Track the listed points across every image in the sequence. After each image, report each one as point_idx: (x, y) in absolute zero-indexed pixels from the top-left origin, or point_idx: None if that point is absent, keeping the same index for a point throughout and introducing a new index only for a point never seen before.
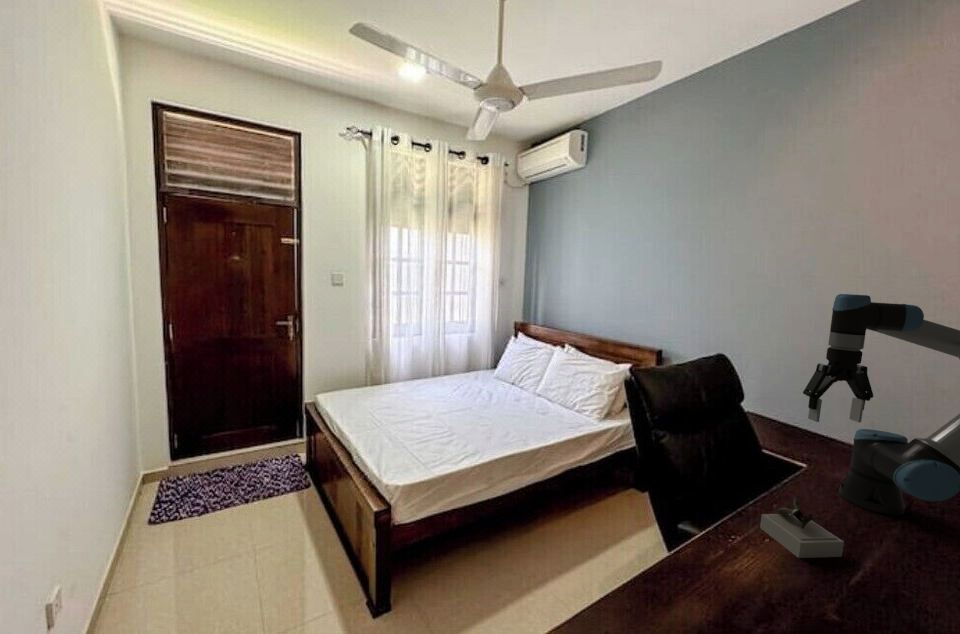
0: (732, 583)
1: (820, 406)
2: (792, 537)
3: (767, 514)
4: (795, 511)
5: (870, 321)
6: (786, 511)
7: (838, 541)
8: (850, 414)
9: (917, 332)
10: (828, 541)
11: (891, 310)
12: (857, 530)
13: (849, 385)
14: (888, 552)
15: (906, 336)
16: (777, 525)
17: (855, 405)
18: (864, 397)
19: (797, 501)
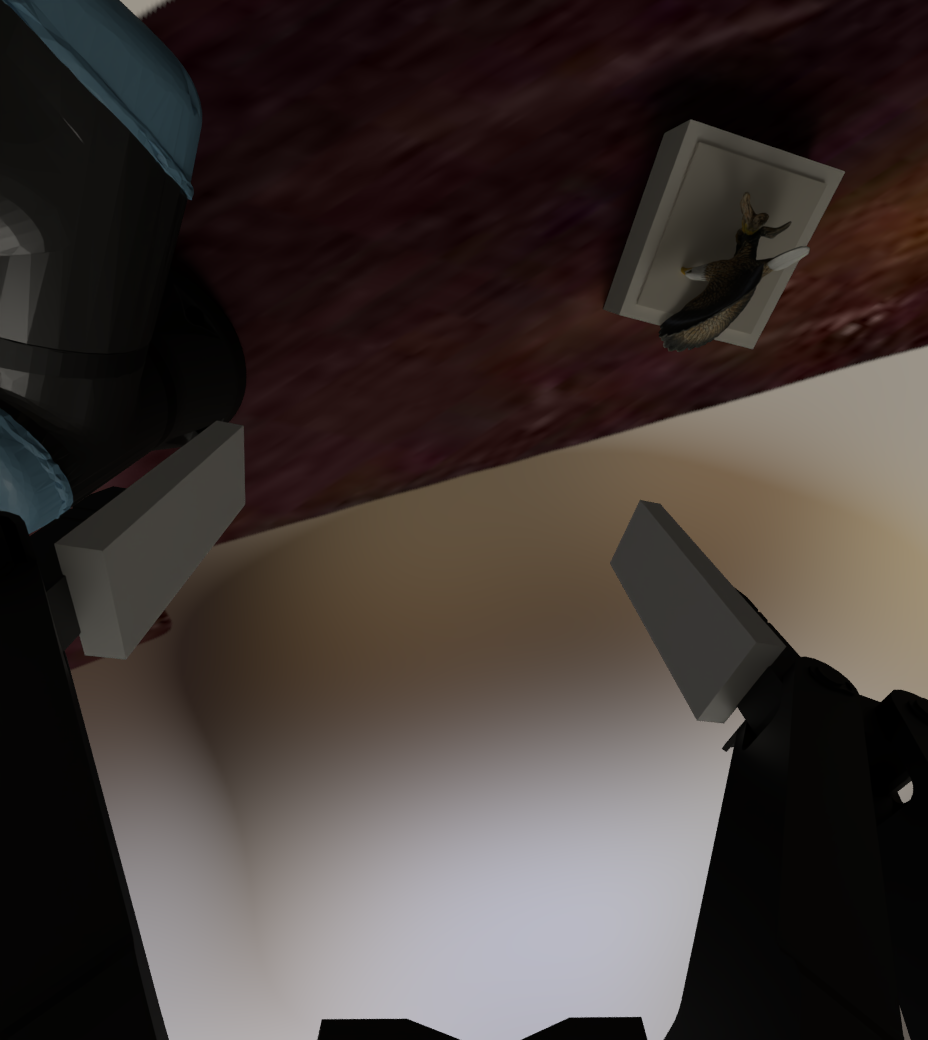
0: None
1: (714, 585)
2: (824, 210)
3: (737, 342)
4: (808, 247)
5: None
6: (744, 300)
7: (709, 128)
8: (225, 524)
9: None
10: (744, 142)
11: None
12: (421, 234)
13: (123, 874)
14: (464, 89)
15: None
16: (787, 281)
17: (169, 557)
18: (10, 582)
19: (760, 280)
